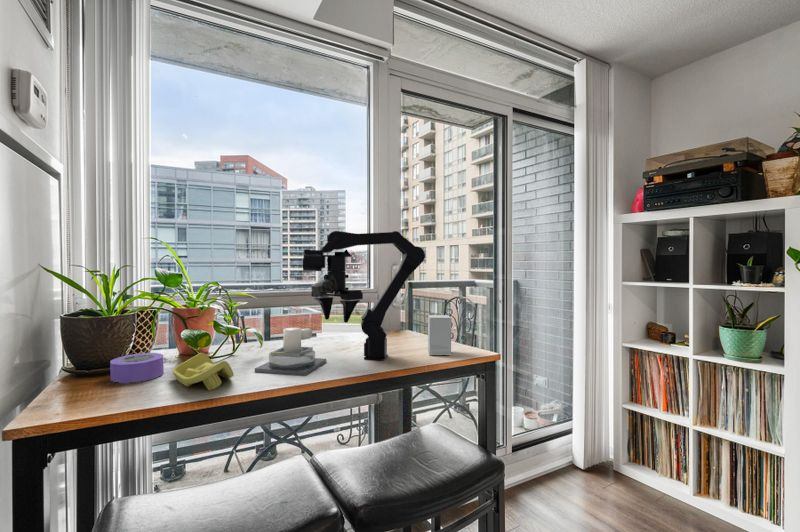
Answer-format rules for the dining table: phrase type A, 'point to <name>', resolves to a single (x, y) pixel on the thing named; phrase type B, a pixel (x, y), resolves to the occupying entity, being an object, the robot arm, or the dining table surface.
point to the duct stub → (291, 362)
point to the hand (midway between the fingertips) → (336, 320)
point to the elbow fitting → (294, 339)
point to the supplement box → (439, 334)
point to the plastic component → (202, 371)
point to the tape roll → (136, 367)
